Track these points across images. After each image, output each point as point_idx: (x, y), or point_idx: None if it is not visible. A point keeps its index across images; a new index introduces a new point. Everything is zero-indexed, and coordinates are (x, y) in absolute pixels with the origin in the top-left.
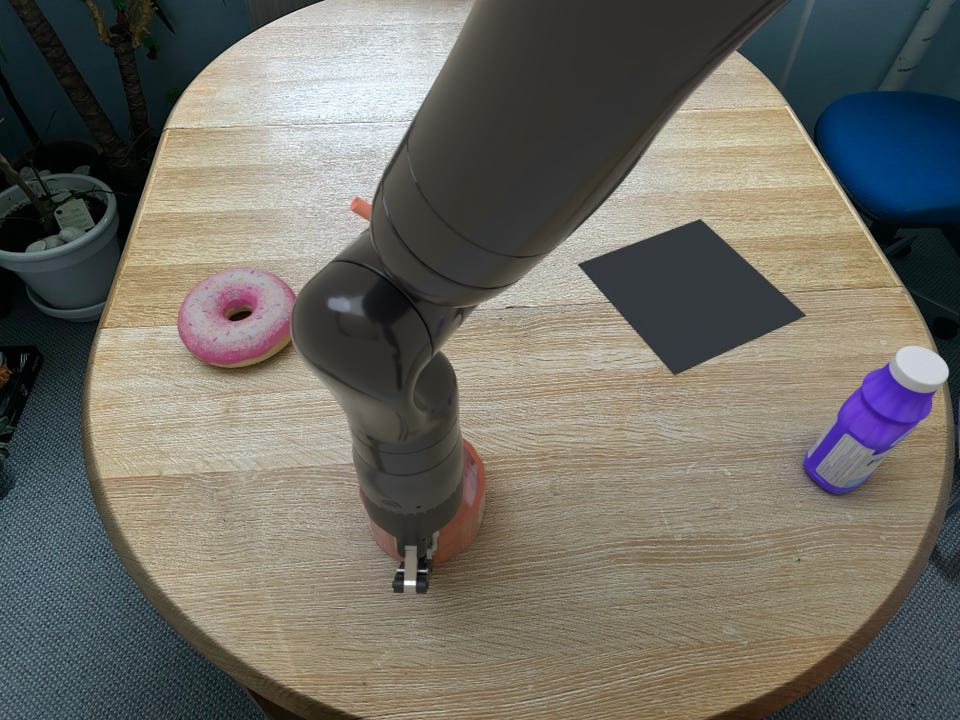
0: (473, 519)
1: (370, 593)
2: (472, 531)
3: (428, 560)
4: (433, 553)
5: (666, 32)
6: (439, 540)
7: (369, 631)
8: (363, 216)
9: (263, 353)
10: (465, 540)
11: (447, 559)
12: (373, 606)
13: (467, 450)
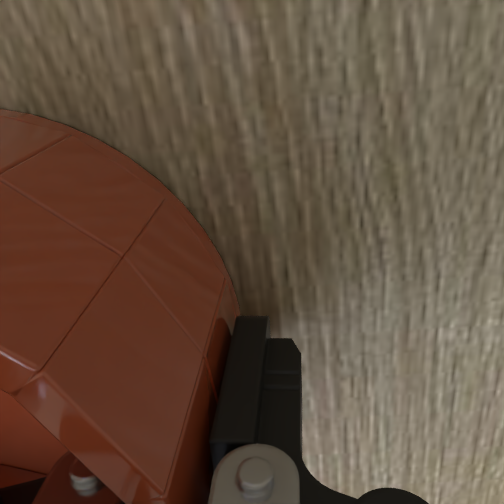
0: None
1: (346, 448)
2: (69, 181)
3: (262, 390)
4: (269, 485)
5: None
6: (176, 443)
7: (467, 444)
8: None
9: None
10: (124, 208)
11: (210, 243)
12: (388, 439)
13: None
